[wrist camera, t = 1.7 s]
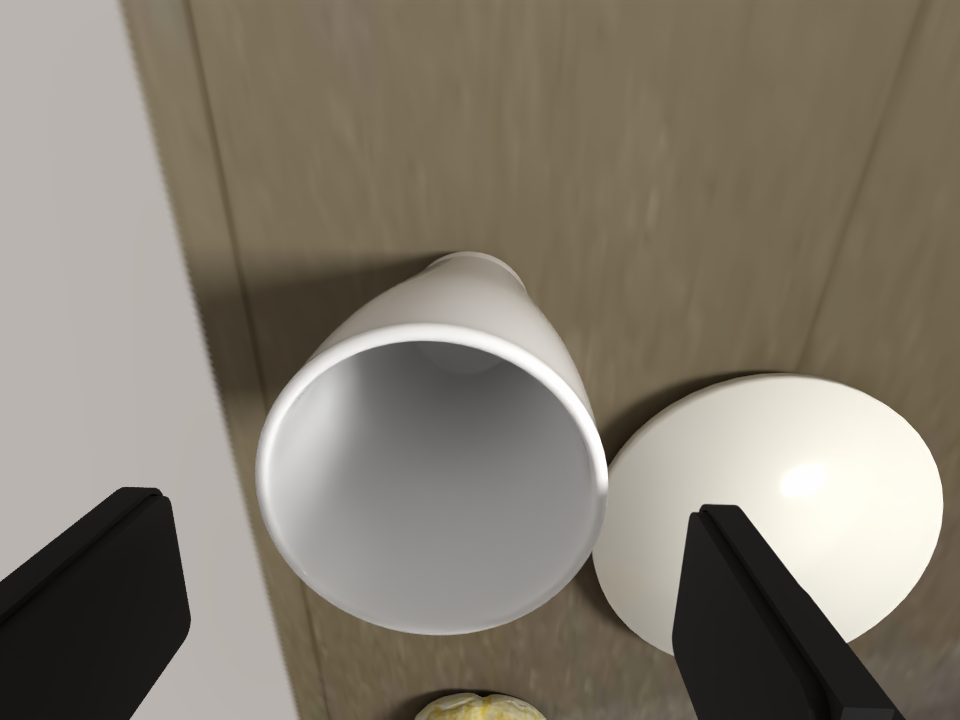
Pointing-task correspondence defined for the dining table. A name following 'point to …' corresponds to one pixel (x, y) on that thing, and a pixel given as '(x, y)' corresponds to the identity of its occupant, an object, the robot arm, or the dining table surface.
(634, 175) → the dining table surface
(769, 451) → the cream dish
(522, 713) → the bread roll
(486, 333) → the white cup
